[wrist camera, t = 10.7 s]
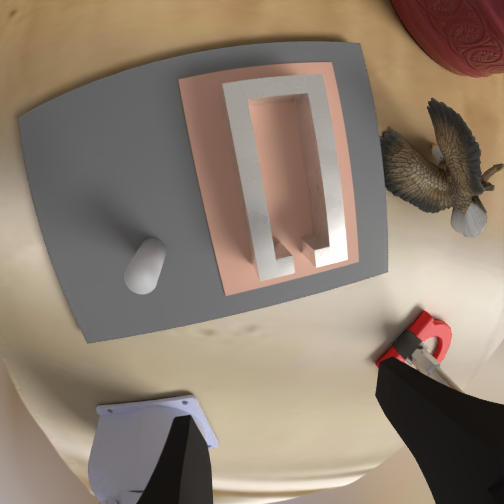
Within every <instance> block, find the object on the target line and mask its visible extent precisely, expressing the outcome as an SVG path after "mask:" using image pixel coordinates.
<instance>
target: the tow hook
mask: <svg viewBox="0 0 504 504" xmlns="http://www.w3.org/2000/svg"><path fill="white" fill-rule="evenodd" d="M434 336H437V337H438V340H439V341H438V346H437V349H436V351H435V353H434V355H433V356H432V355H431V354H430V353H429V352H428V351H427V350H426V349H427V347H426V345H425V344H424V343H423V342H422V341H425V340H426V339H428V338H430V337H434ZM451 337H452V333H451V328H450V327H449V326H448V325H447V324H446V323H445V322H443V321H440V320H435V321H434V319H433V317H432V316H431V315H430V314H429V313H428V312H426V311H423V313H422V314H421V315H420V316H419V317H418V319H417V320H416V321H415V322H414V323H413V324H412V325H411V327H410V328H409V329H407V330H406V331H405V332H404V333H403V334H402V335H401V336H400V337H399V338H398V339H397V341H396V342H395V343H394V344H393V346H392V347H391V348H390V349H389V351H388V352H387V353H386V354H385V355H384V356H383V357H382V358H381V359H380V360H379V361H378V362H377V363H376V365H377V367H378V368H379V362H380V361H382V360H385V359H387V358H389V357H392V356H393V357H395V358H397V359H399V360H400V361H402V362H404V363H405V360H406V361H407V362H408V363H409V364H410V365H412V364H414V365H415V366H416V368H417V369H418V370H419V372H421V373H423V374H425V375H427V376H428V377H430V378H432V379H434V380H436V381H438V382H440V383H442V384H444V385H446V386H448V387H450V388H453V389H455V390H457V391H460V392H462V393H464V392H463V391H462V390H461V389H460V388H459V387H458V386H457V385H456V384H455V382H454V381H453V380H452V379H451V378H450V377H449V376H448V375H447V374H446V373H445V372H444V371H443V370H442V369H441V368H440V363H441V361H442V360H443V358H444V357H445V355H446V353H447V351H448V349H449V346H450V343H451Z"/></svg>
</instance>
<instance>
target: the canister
mask: <svg viewBox="0 0 504 504" xmlns="http://www.w3.org/2000/svg"><path fill="white" fill-rule="evenodd" d="M391 2H392V4H393V6H394V8H395V10H396V12H397V14H398V16H399V17H400V19H401V21H402V22H403V24H404V25H405V27H406V28H407V30H408V31H409V33H410V34H411V35H412V37H413V38H414V39H415V40H416V42H417V43H418V44H419V45H420V46H421V47H422V49H423V50H424V51H425V52H426V53H427V54H428V55H429V56H430V57H431V58H432V59H434V60H435V61H436V62H437V63H438V64H440V65H441V66H442V67H444V68H445V69H447V70H449V71H450V72H452V73H455V74H457V75H461V76H470V77H475V78H479V77H488V76H491V75H493V74H498V73H504V0H391Z"/></svg>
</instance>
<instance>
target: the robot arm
mask: <svg viewBox="0 0 504 504" xmlns="http://www.w3.org/2000/svg"><path fill="white" fill-rule="evenodd" d="M375 396H376V398H377V400H378V402H379V404H380V406H381V408H382V410H383V412H384V414H385V415H386V417H387V418H388V420H389V421H390V423H391V424H392V426H393V427H394V428H395V430H396V431H397V433H398V434H399V435H400V437H401V438H402V440H403V441H404V443H405V444H406V445H407V447H408V448H409V450H410V451H411V453H412V454H413V456H414V457H415V459H416V461H417V463H418V465H419V467H420V469H421V471H422V473H423V475H424V477H425V479H426V481H427V483H428V486H429V488H430V490H431V492H432V495H433V498H434V500H435V503H436V504H504V405H503V404H498V403H494V402H490V401H486V400H482V399H479V398H476V397H473V396H470V395H467V394H465V393H462V392H460V391H457V390H455V389H453V388H450V387H448V386H446V385H444V384H442V383H440V382H438V381H436V380H434V379H432V378H430V377H428V376H427V375H425V374H423V373H421V372H419V371H418V370H416V369H414V368H412V367H411V366H409V365H407V364H406V363H404V362H402V361H400V360H399V359H397V358H395V357H393V356H392V357H389V358H387V359H385V360H382V361H380V362H379V371H378V379H377V387H376V394H375ZM96 412H97V413H98V414H99V416H100V417H99V421H98V424H97V428H96V432H95V436H94V440H93V445H92V449H91V453H90V458H89V462H88V477H89V482H90V486H91V488H92V491H93V493H94V494H95V496H96V497H97V499H98V500H99V501H100V502H99V504H213V492H212V473H211V463H210V457H209V451H208V449H210V448H216V447H218V446H219V442H218V440H217V438H216V436H215V434H214V432H213V430H212V428H211V426H210V425H209V423H208V421H207V419H206V417H205V415H204V412H203V410H202V408H201V406H200V404H199V402H198V400H197V398H196V397H195V396H194V395H185V396H179V397H173V398H166V399H159V400H151V401H142V402H133V403H123V404H111V405H98V406H97V407H96Z"/></svg>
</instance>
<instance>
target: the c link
mask: <svg viewBox="0 0 504 504" xmlns="http://www.w3.org/2000/svg"><path fill="white" fill-rule="evenodd" d="M219 96H220V102H221V107H222V112H223V117H224V122H225V128H226V133H227V138H228V143H229V148H230V153H231V159H232V164H233V169H234V174H235V179H236V184H237V190H238V195H239V200H240V205H241V210H242V215H243V220H244V226H245V231H246V236H247V241H248V246H249V251H250V256H251V261H252V265H253V268H254V270H255V272H256V274H257V276H258V278H259V280H260V282H261V281H265V280H269V279H273V278H277V277H281V276H285V275H289V274H293V273H295V268H294V261H293V255H292V254H291V253H290V252H289V251H288V250H287V249H286V247H285V246H284V245H283V244H282V243H281V242H277V243H273V239H272V233H271V227H270V221H269V215H268V209H267V203H266V198H265V192H264V186H263V181H262V175H261V170H260V164H259V158H258V153H257V148H256V142H255V137H254V132H253V126H252V121H251V116H250V111H249V107H250V106H257V105H265V104H273V103H281V102H291V101H293V105H294V110H295V116H296V121H297V127H298V132H299V138H300V144H301V150H302V156H303V162H304V168H305V175H306V182H307V189H308V196H309V203H310V210H311V218H312V226H313V234H312V235H308V236H304V237H300V245H301V252H302V254H303V255H304V256H305V257H306V258H307V259H308V260H309V261H310V262H311V263H312V264H313V265H314V266H315V267H316V268H317V267H321V266H325V265H329V264H333V263H336V262H340V261H344V260H348V257H347V242H346V229H345V218H344V207H343V198H342V189H341V180H340V172H339V165H338V158H337V151H336V144H335V138H334V131H333V125H332V120H331V114H330V109H329V103H328V98H327V93H326V88H325V83H324V79H323V74H307V75H290V76H278V77H267V78H258V79H250V80H242V81H235V82H229V83H222V86H221V89H220V93H219Z"/></svg>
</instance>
